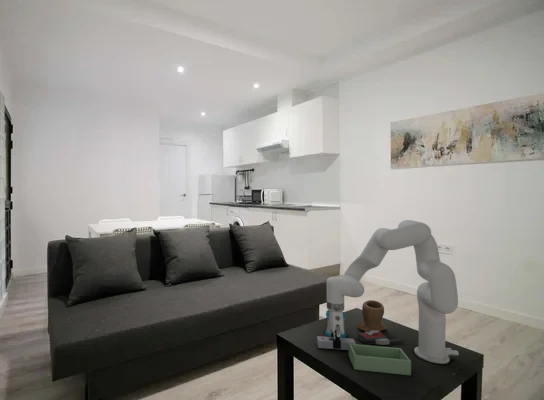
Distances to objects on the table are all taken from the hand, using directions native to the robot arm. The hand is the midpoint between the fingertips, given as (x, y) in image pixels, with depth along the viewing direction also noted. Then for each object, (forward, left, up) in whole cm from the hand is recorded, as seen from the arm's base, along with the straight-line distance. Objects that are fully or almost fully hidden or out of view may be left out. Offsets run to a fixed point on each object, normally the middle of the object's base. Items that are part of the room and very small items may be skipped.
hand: (335, 344), depth 135 cm
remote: (0, 0, -1) cm, 1 cm away
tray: (-15, +11, -1) cm, 18 cm away
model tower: (-3, -15, -2) cm, 15 cm away
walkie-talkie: (-22, -11, -2) cm, 24 cm away
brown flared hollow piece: (-23, -23, -2) cm, 32 cm away
